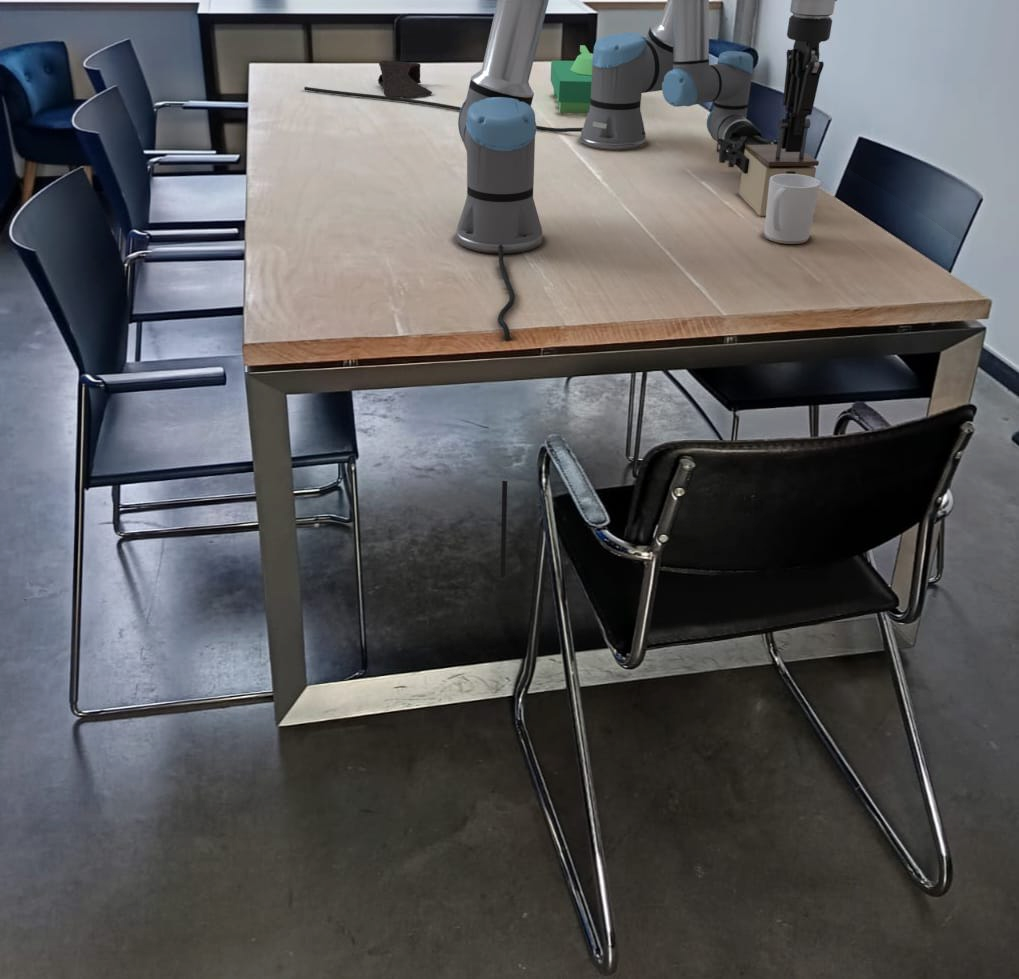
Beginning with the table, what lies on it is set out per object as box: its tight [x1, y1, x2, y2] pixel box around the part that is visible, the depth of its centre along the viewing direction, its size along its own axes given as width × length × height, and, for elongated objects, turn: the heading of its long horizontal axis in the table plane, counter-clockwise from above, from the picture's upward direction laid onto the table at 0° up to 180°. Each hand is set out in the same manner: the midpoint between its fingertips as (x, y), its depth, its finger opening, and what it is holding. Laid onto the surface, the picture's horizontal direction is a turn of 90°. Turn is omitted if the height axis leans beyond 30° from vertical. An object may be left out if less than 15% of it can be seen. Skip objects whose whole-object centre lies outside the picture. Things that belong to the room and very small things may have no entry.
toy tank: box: [550, 44, 593, 115], centre depth 290 cm, size 18×12×35 cm
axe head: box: [377, 59, 433, 99], centre depth 299 cm, size 18×8×15 cm
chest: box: [738, 149, 817, 217], centre depth 215 cm, size 14×10×9 cm
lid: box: [745, 118, 820, 167], centre depth 210 cm, size 15×10×8 cm, turn 6°
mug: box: [763, 174, 822, 245], centre depth 197 cm, size 11×9×10 cm
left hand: (790, 149), depth 207 cm, fingers closed on lid, 2 cm apart
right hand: (772, 166), depth 217 cm, fingers closed on chest, 10 cm apart
